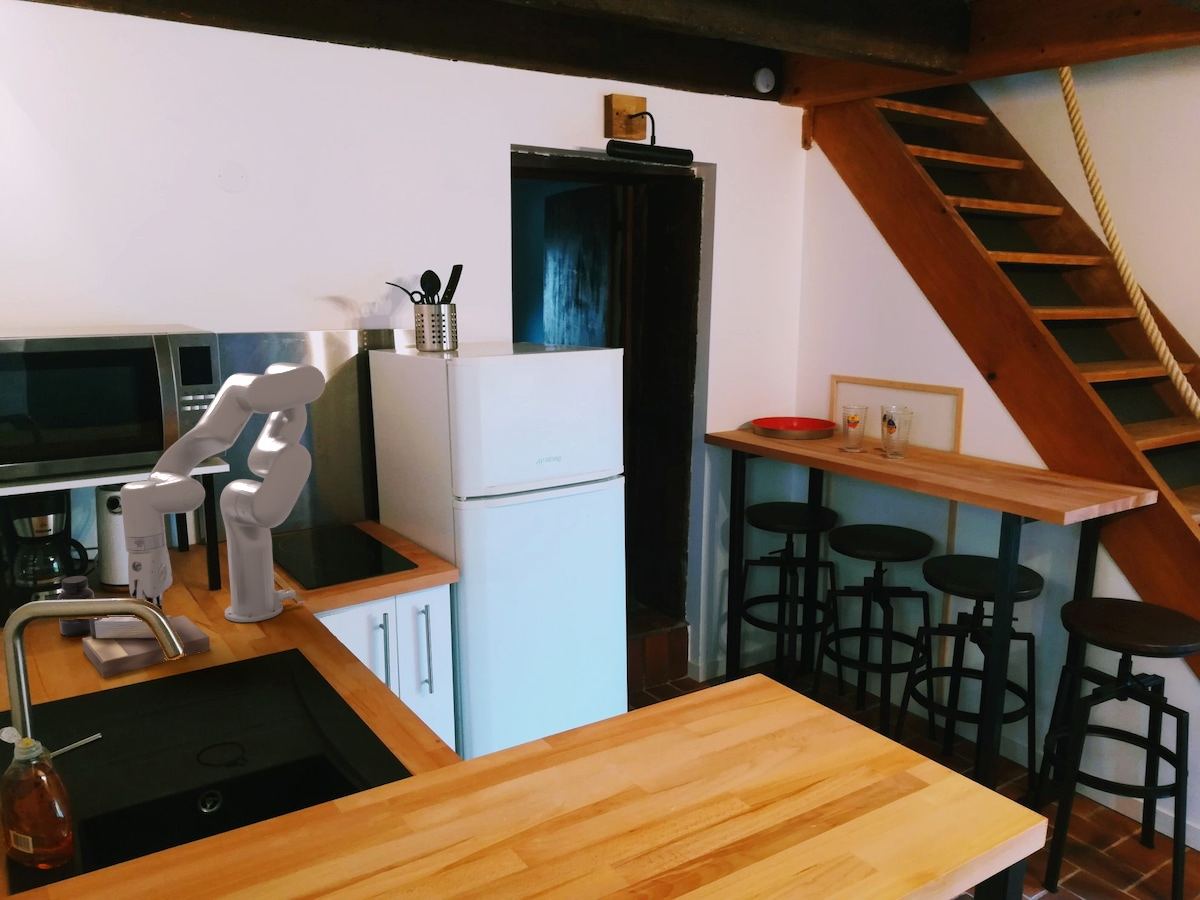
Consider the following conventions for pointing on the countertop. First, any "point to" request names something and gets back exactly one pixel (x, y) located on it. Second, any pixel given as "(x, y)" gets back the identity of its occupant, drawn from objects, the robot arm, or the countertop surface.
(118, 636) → the stool leg
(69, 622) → the supplement bottle
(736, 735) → the countertop surface
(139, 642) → the stool seat
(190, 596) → the countertop surface
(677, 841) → the countertop surface
